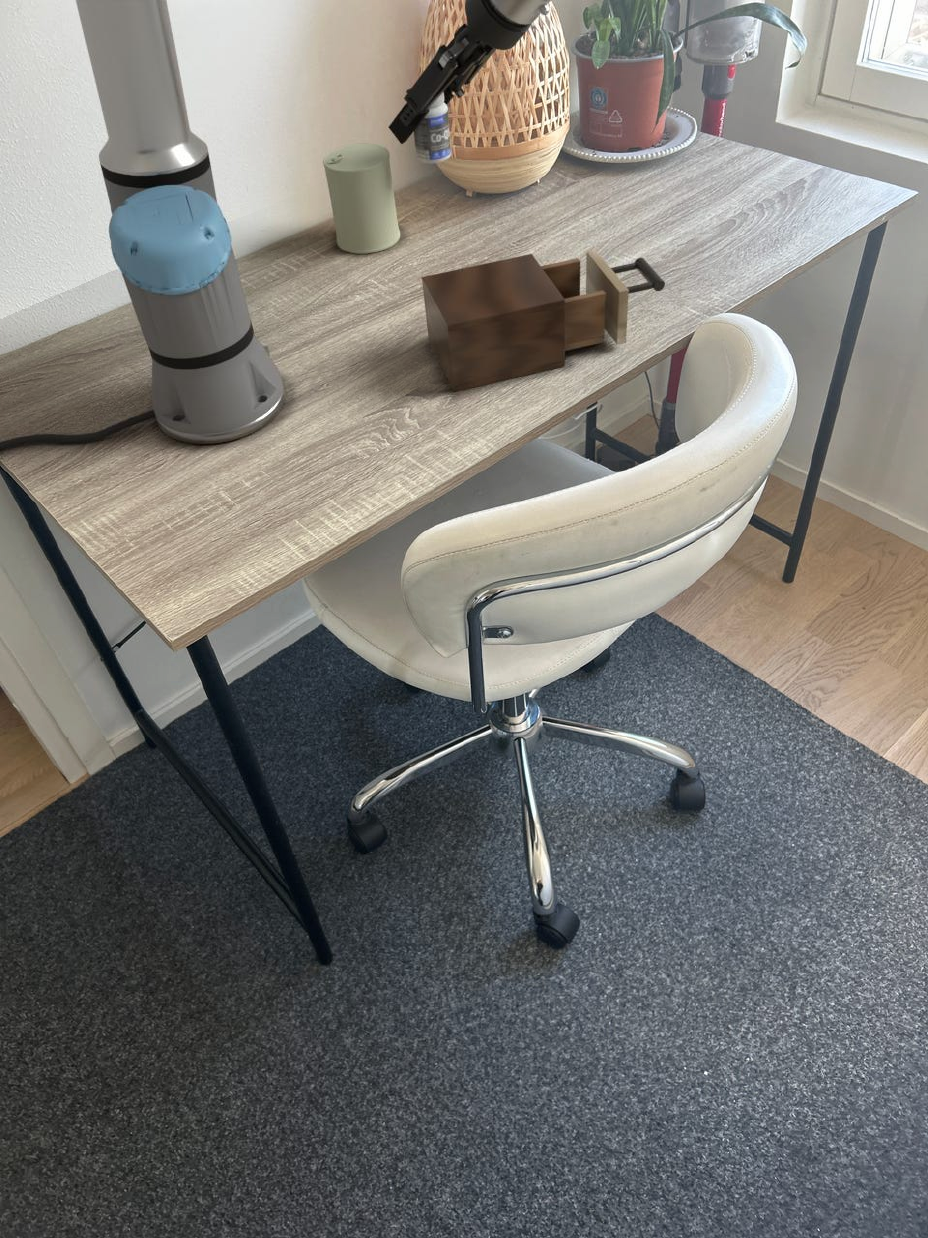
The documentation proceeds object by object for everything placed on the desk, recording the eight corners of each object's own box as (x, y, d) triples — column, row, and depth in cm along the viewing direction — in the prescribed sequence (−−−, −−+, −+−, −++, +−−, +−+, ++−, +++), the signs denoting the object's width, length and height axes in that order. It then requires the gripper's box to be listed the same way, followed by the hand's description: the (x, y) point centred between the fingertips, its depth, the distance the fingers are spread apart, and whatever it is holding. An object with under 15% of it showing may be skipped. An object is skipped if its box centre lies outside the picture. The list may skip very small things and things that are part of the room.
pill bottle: (436, 166, 129) (430, 98, 123) (409, 160, 131) (401, 92, 125) (458, 153, 131) (453, 86, 125) (431, 147, 134) (425, 80, 127)
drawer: (635, 292, 123) (638, 240, 118) (669, 332, 116) (674, 279, 111) (499, 322, 121) (496, 270, 116) (525, 365, 114) (524, 312, 109)
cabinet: (533, 318, 123) (531, 253, 116) (565, 366, 115) (565, 299, 109) (429, 341, 121) (421, 276, 115) (454, 392, 113) (447, 325, 107)
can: (330, 231, 143) (315, 147, 134) (391, 218, 145) (380, 134, 136) (344, 259, 137) (329, 172, 128) (407, 245, 138) (396, 158, 130)
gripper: (486, 51, 107) (387, 176, 126) (567, 3, 117) (463, 126, 136) (443, -9, 106) (348, 127, 125) (529, -52, 115) (429, 80, 134)
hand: (409, 126), depth 130 cm, fingers closed on pill bottle, 5 cm apart
